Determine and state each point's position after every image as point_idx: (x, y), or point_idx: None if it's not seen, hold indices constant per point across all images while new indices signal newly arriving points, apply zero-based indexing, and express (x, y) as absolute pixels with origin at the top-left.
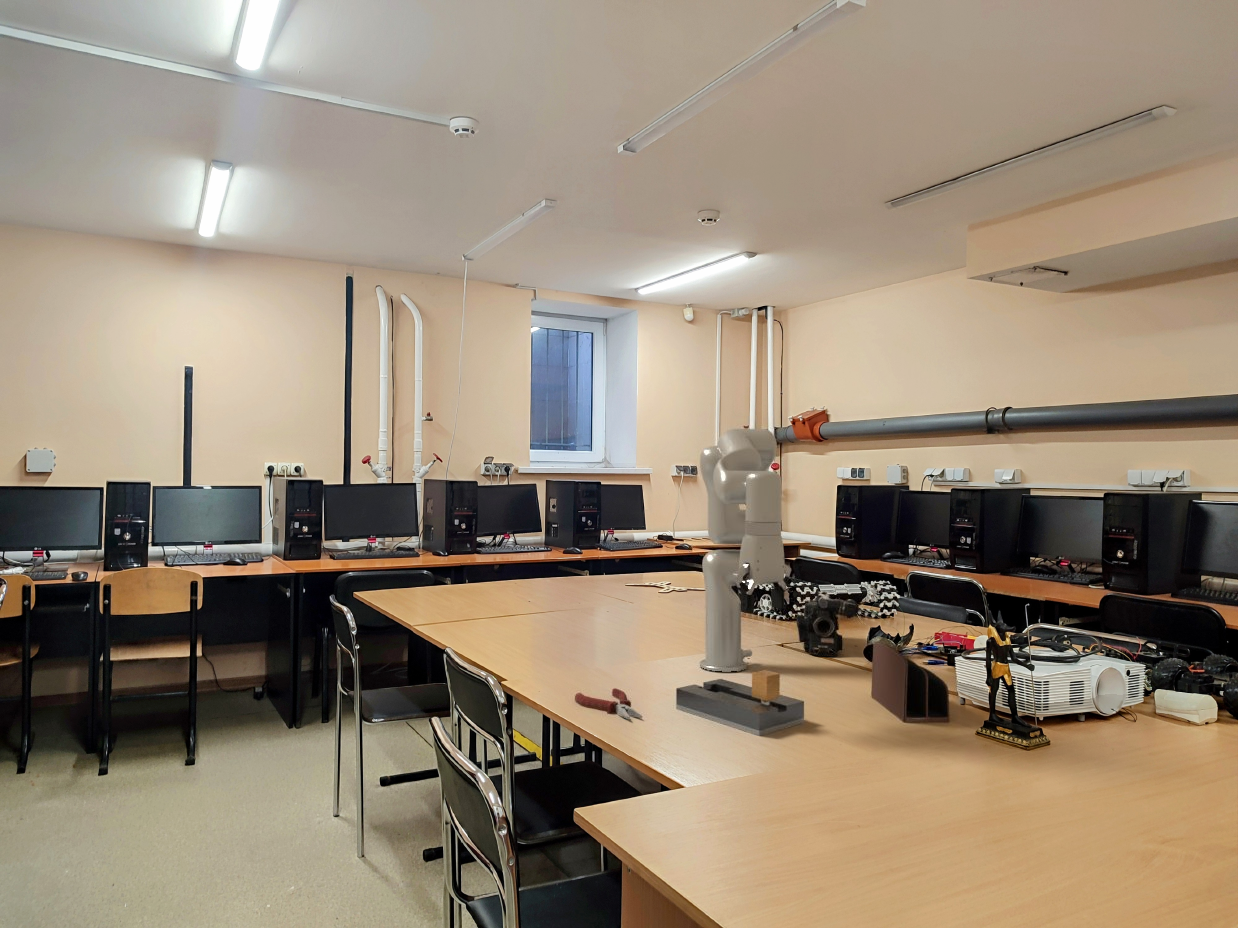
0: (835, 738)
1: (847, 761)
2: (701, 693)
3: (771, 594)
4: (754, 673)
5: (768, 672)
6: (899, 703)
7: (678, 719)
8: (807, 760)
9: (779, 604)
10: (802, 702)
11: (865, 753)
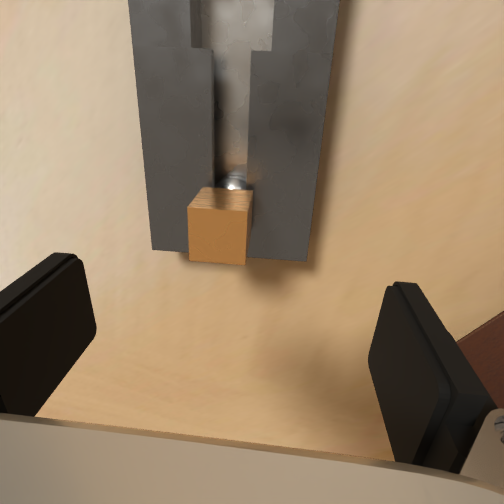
0: (264, 320)
1: (188, 372)
2: (149, 20)
3: (419, 349)
4: (188, 215)
5: (230, 236)
6: (472, 361)
7: (91, 21)
8: (145, 339)
9: (374, 364)
10: (300, 259)
11: (237, 374)
